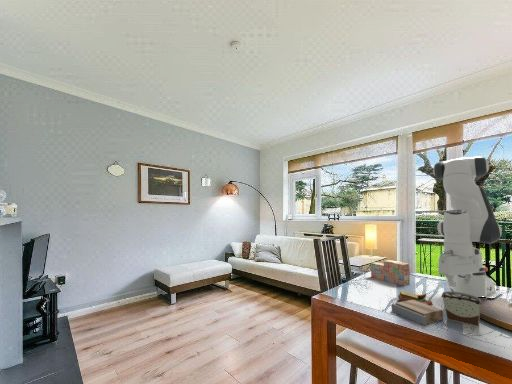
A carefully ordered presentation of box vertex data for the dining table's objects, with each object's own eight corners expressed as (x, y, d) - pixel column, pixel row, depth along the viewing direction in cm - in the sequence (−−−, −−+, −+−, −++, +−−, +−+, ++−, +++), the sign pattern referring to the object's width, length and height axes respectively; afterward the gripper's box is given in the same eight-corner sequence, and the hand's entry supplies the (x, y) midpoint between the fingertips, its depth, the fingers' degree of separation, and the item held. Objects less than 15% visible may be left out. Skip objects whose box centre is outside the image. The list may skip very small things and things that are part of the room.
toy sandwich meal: (432, 311, 104) (432, 300, 104) (396, 304, 112) (396, 293, 112) (433, 303, 114) (432, 292, 114) (400, 296, 122) (399, 287, 122)
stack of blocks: (370, 277, 158) (370, 258, 159) (376, 276, 161) (375, 257, 162) (404, 286, 139) (403, 264, 140) (410, 284, 142) (409, 263, 143)
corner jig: (411, 306, 108) (411, 299, 109) (445, 320, 95) (445, 312, 95) (391, 310, 104) (391, 303, 104) (424, 325, 91) (424, 317, 91)
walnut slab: (414, 308, 107) (413, 299, 107) (443, 320, 96) (442, 309, 96) (396, 312, 103) (395, 302, 104) (424, 324, 92) (423, 314, 92)
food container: (483, 322, 93) (481, 295, 94) (484, 328, 89) (482, 300, 89) (443, 313, 101) (442, 289, 102) (442, 318, 97) (440, 292, 98)
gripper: (450, 252, 90) (452, 290, 89) (482, 250, 98) (484, 285, 97) (432, 250, 96) (434, 285, 95) (464, 248, 104) (466, 281, 102)
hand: (460, 285), depth 96 cm, fingers open, 8 cm apart
